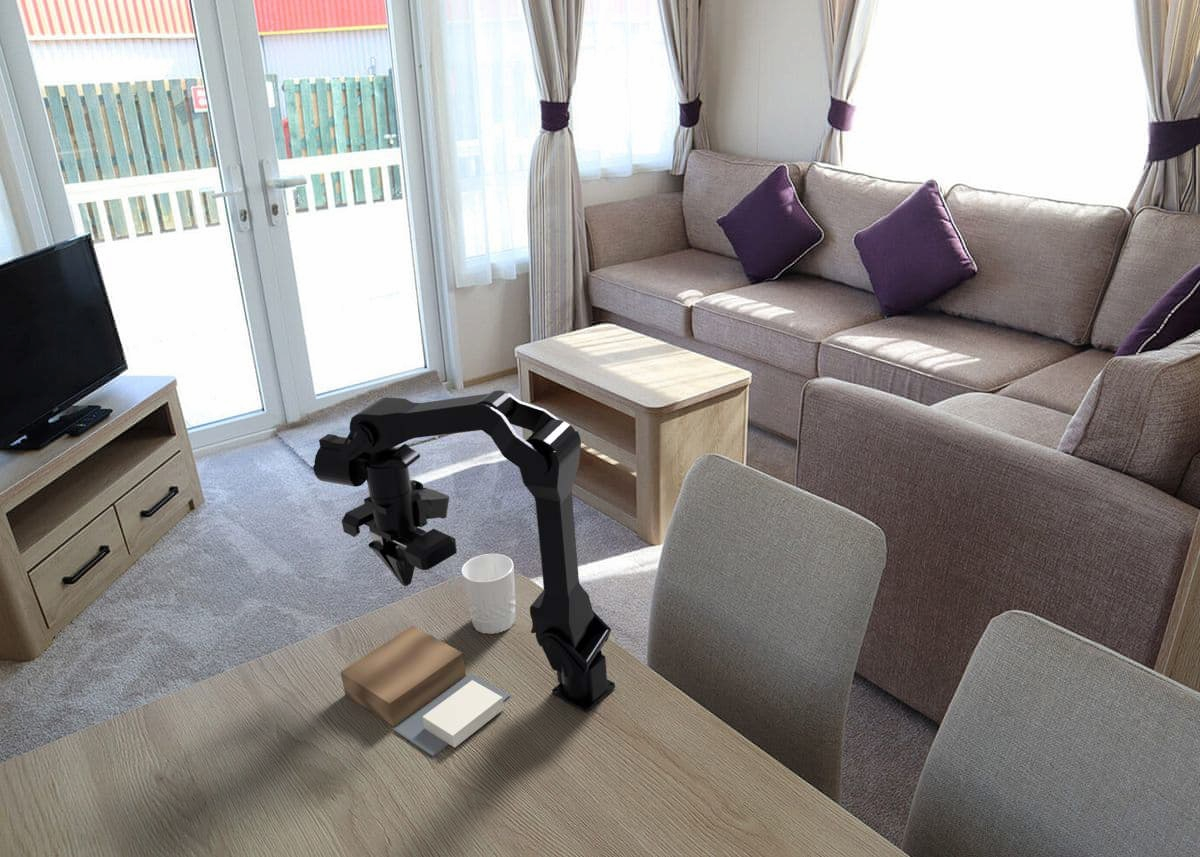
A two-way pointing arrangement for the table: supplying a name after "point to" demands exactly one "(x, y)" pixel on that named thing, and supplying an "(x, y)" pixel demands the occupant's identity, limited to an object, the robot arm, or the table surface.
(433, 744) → the mat
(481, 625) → the white cup
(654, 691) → the table surface
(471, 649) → the table surface
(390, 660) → the tan beveled block
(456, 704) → the white sticky note pad
